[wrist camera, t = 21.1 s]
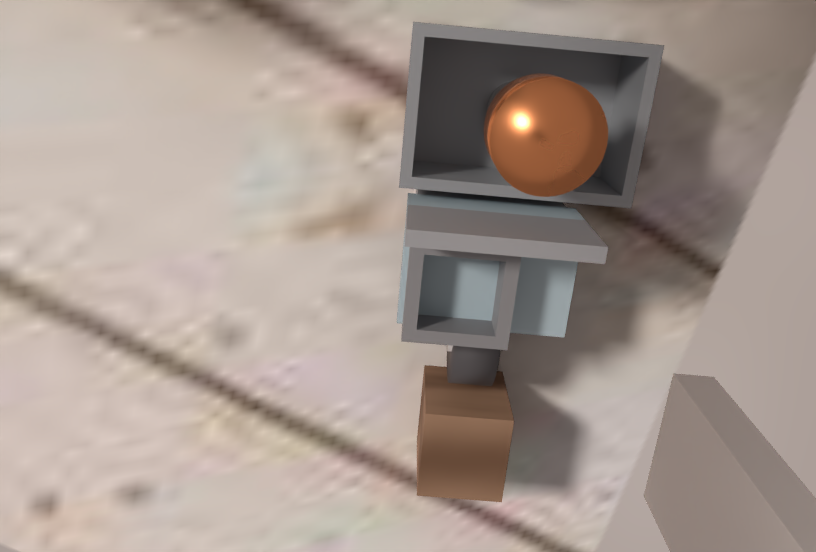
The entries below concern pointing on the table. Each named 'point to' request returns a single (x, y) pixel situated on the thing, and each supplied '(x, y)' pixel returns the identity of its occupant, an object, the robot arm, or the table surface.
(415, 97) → the bin
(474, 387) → the block
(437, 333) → the grey bracket
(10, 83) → the table surface
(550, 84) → the pin
